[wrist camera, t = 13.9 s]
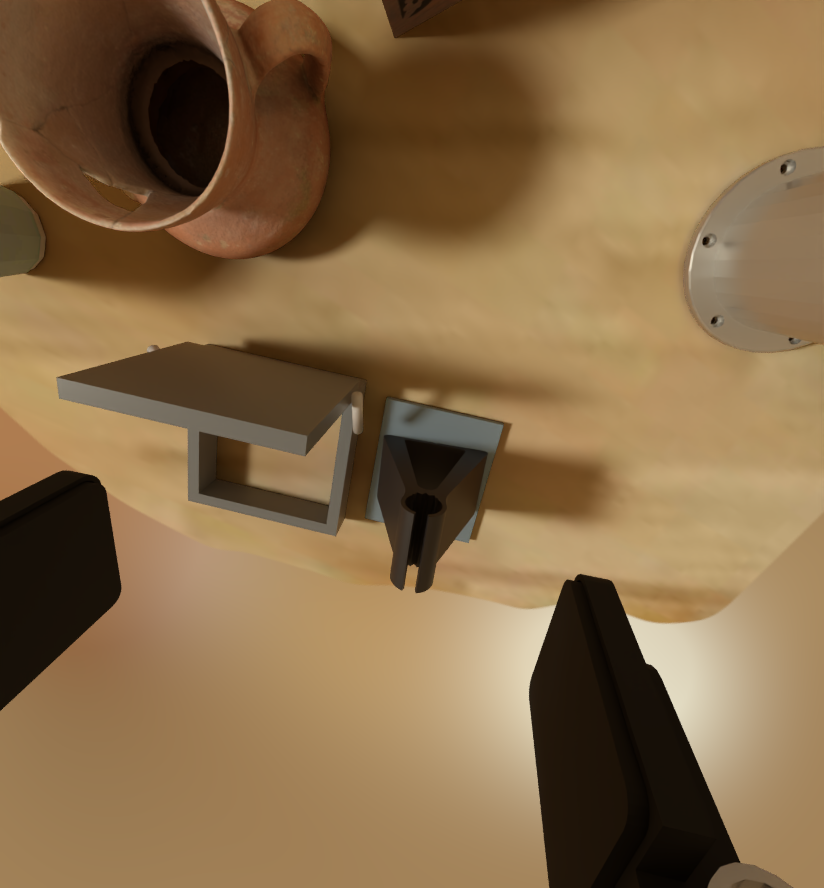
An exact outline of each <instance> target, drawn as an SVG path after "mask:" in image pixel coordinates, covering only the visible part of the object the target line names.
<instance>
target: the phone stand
mask: <svg viewBox="0 0 824 888" xmlns="http://www.w3.org/2000/svg"><path fill="white" fill-rule="evenodd" d="M487 455H488V453H487V452H485V451H480V450H475V449H469V448H463V447H457V446H451V445H445V444H440V443H438V444H435V443H434V442H428V441H422V440H416V439H410V438H405V437H399V436H393V435H384V439H383V448H382V456H381V465H380V473H379V482H378V490H377V499H378V502H379V505H380V509H381V512H382V516H383V519H384V523H385V526H386V530H387V533H388V537H389V540H390V544H391V547H392V550H393V559H392V566H391V573H390V579H391V581H392V583H393V584H394V585H395V586H396V587H397V588H398V589H400V590H403V589H404V585H405V578H406V572H407V566H408V565H409V566H411V565H413V564H415V566H416V567H419V569H418V575H417V581H416V587H415V592H416V593H421V592H424V591H426V590H428V589H429V588H430V587H431V586H432V583H433V579H434V573H435V568H436V563H437V562H438V561H439V559H440V558H441V557H442V555H443V554H444V553H445V551H446V550H447V549H448V548H449V546H450V545H451V544H452V542H453V541H454V540H455V539H456V537H457V536H458V535H459V533H460V532H461V531H462V529H463V528H464V527H465V526H466V524H467V523H468V522H469V520H470V519H471V518H472V517H473V515H474V514H475V510H476V505H477V501H478V496H479V491H480V487H481V482H482V478H483V473H484V469H485V464H486V460H487Z"/></svg>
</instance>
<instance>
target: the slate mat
mask: <svg viewBox="0 0 824 888" xmlns="http://www.w3.org/2000/svg"><path fill="white" fill-rule="evenodd" d="M503 426H504V425H503V423H501V422H497V421H493V420H488V419H484V418H480V417H475V416H471V415H466V414H462V413H458V412H453V411H449V410H444V409H440V408H436V407H431V406H427V405H423V404H418V403H414V402H409V401H405V400H401V399H396V398H392V397H387V399H386V404H385V410H384V415H383V421H382V426H381V432H380V437H379V443H378V448H377V454H376V459H375V465H374V470H373V476H372V481H371V487H370V492H369V498H368V503H367V509H366V514H365V518H367V519H371V520H375V521H379V522H383V523H384V519H383V516H382V512H381V509H380V505H379V502H378V499H377V490H378V482H379V473H380V465H381V456H382V448H383V439H384V435H393V436H399V437H405V438H410V439H416V440H422V441H428V442H434V443H435V444H438V443H440V444H445V445H451V446H457V447H463V448H469V449H475V450H480V451H485V452H487V453H488V455H487V460H486V464H485V469H484V473H483V478H482V482H481V487H480V491H479V496H478V501H477V505H476V510H475V514H474V515H473V517H472V518H471V519H470V520H469V522H468V523H467V524H466V526H465V527H464V528H463V529H462V531H461V532H460V533H459V535H458V536H457V537H456V539H455V540H458V541H463V542H467V543H469V539H470V536H471V533H472V529H473V526H474V523H475V519H476V516H477V513H478V509H479V506H480V503H481V499H482V496H483V493H484V489H485V486H486V483H487V479H488V476H489V473H490V469H491V466H492V463H493V459H494V456H495V453H496V449H497V446H498V442H499V439H500V436H501V432H502V429H503Z"/></svg>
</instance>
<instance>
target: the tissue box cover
mask: <svg viewBox="0 0 824 888" xmlns="http://www.w3.org/2000/svg"><path fill="white" fill-rule="evenodd" d="M460 1H461V0H382V2H383V5H384V8H385V11H386V14H387V17H388V20H389V23H390V26H391V29H392V32H393V35H394V38H396V37H398V36H400V35H401V34H403V33H405V32H407V31H408V30H410V29H412V28H414V27H415V26H417V25H419V24H421V23H423V22H424V21H426V20H428V19H430V18H431V17H433V16H435V15H437V14H438V13H440V12H442V11H444V10H446V9H447V8H449V7H451V6H453V5H454V4H456V3H458V2H460Z"/></svg>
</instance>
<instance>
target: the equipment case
mask: <svg viewBox="0 0 824 888" xmlns="http://www.w3.org/2000/svg"><path fill="white" fill-rule="evenodd" d="M147 352H148V353H144V354H140V355H137V356H133V357H129V358H126V359H122V360H119V361H115V362H111V363H108V364H104V365H100V366H97V367H93V368H89V369H86V370H82V371H78V372H75V373H71V374H67V375H64V376H60V377H56V378H57V386H58V394H59V399H64V400H68V401H72V402H76V403H81V404H85V405H89V406H93V407H98V408H102V409H106V410H110V411H115V412H119V413H123V414H127V415H132V416H136V417H140V418H144V419H149V420H153V421H157V422H161V423H166V424H170V425H174V426H178V427H183V428H187V429H188V501H192V502H196V503H201V504H205V505H209V506H213V507H217V508H221V509H225V510H230V511H234V512H238V513H242V514H246V515H250V516H254V517H259V518H263V519H267V520H271V521H275V522H279V523H283V524H288V525H292V526H296V527H300V528H304V529H308V530H312V531H317V532H321V533H325V534H329V535H333V536H336V535H337V533H338V531H339V529H340V527H341V525H342V523H343V521H344V519H345V513H346V506H347V500H348V494H349V488H350V482H351V475H352V469H353V463H354V457H355V450H356V444H357V438H358V434H361V433H362V432H363V401H364V394H365V388H366V382H367V380H364V379H360V378H355V377H351V376H346V375H342V374H338V373H333V372H329V371H324V370H320V369H315V368H311V367H307V366H302V365H298V364H293V363H289V362H285V361H280V360H276V359H271V358H267V357H263V356H258V355H254V354H249V353H245V352H241V351H236V350H232V349H227V348H223V347H219V346H214V345H210V344H207V345H200V344H196V343H191V342H184V343H181V344H177V345H173V346H170V347H166V348H162V349H159V347H158V346H157V345H151V346H149V347H148V348H147ZM341 414H342V419H341V426H340V433H339V440H338V447H337V454H336V461H335V468H334V475H333V482H332V489H331V496H330V503H329V506H327V505H323V504H319V503H315V502H311V501H306V500H302V499H298V498H294V497H290V496H285V495H281V494H277V493H273V492H269V491H265V490H260V489H256V488H252V487H248V486H244V485H239V484H235V483H231V482H227V481H223V480H219V479H216V461H217V436H221V437H225V438H230V439H234V440H238V441H242V442H247V443H251V444H255V445H259V446H264V447H268V448H272V449H276V450H281V451H285V452H289V453H293V454H298V455H302V456H306V455H307V453H308V452H309V451H310V450H311V449H312V448H313V446H314V445H315V444H316V443H317V442H318V441H319V439H320V438H321V437H322V436H323V435H324V434H325V433H326V431H327V430H328V429H329V428H330V427H331V426H332V424H333V423H334V422H335V421H336V420H337V419H338V417H339V416H340V415H341Z"/></svg>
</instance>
